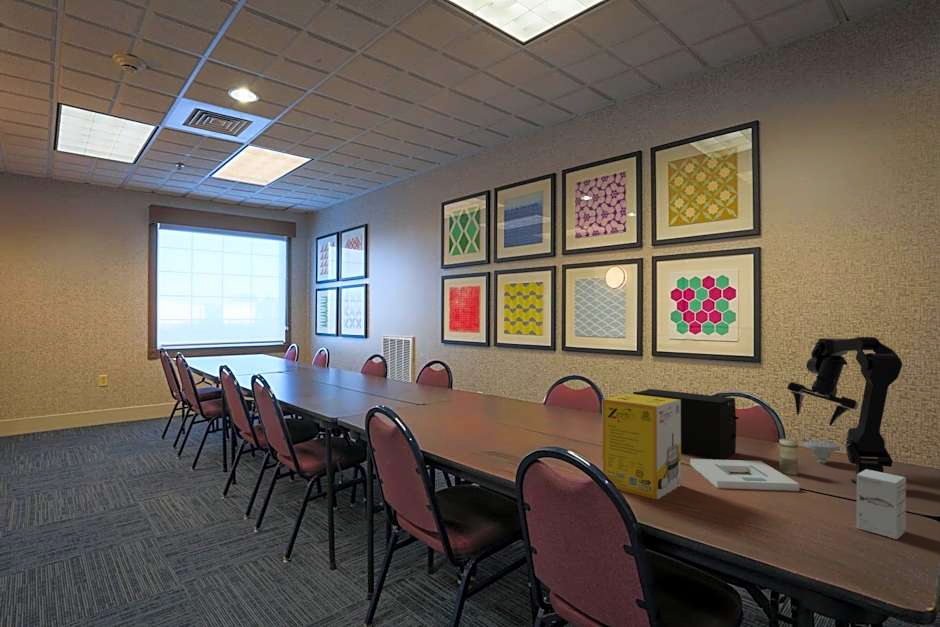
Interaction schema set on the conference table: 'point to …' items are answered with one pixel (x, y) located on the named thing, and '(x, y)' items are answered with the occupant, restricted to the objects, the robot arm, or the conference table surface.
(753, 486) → the hole plate
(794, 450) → the beech peg
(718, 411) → the uninterruptible power supply
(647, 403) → the packaging box
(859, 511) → the supplement box
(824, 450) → the showerhead
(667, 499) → the conference table surface
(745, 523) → the conference table surface
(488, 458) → the conference table surface
